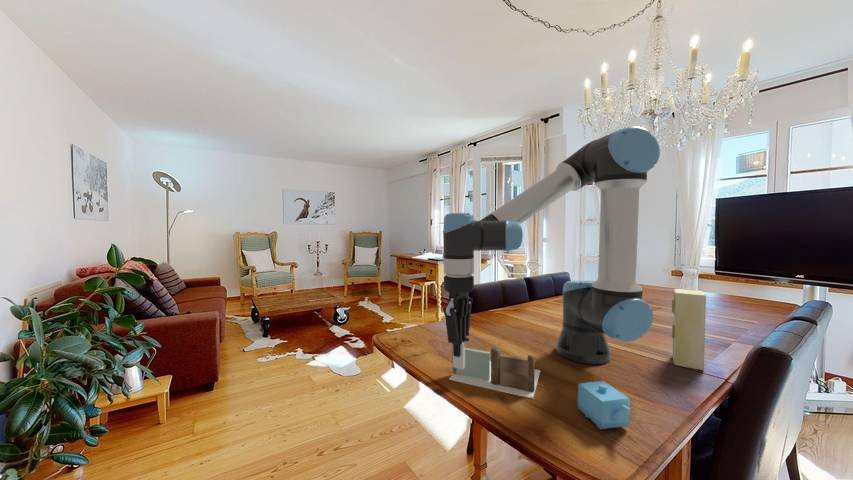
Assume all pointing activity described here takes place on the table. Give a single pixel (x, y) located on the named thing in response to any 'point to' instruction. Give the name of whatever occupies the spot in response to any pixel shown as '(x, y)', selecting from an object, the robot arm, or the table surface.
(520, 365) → the fixed fence
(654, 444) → the table surface
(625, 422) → the teapot
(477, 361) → the swing panel
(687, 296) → the toy refrigerator
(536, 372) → the card
